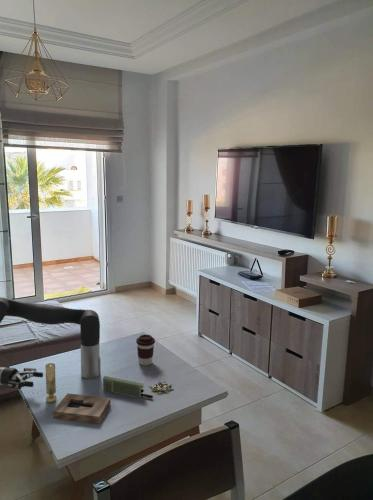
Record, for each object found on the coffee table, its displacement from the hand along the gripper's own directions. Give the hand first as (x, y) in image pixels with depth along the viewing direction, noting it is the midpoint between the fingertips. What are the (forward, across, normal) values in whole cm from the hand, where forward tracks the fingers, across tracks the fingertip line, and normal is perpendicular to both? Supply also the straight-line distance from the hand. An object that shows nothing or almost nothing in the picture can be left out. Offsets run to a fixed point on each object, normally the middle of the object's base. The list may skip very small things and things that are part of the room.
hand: (38, 379), depth 179 cm
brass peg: (+6, 0, +10) cm, 11 cm away
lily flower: (+52, +20, +10) cm, 57 cm away
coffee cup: (+38, +44, +10) cm, 59 cm away
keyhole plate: (+23, -5, +10) cm, 25 cm away
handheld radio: (+38, +12, +10) cm, 41 cm away
